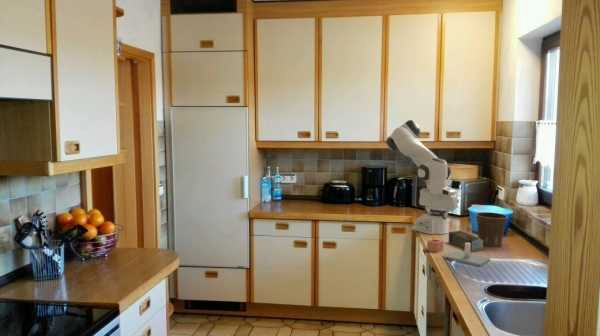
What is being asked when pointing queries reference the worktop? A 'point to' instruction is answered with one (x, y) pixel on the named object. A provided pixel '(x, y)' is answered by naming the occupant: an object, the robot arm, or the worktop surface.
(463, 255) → the post board
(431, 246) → the collar
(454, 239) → the beverage carton
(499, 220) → the plant pot
